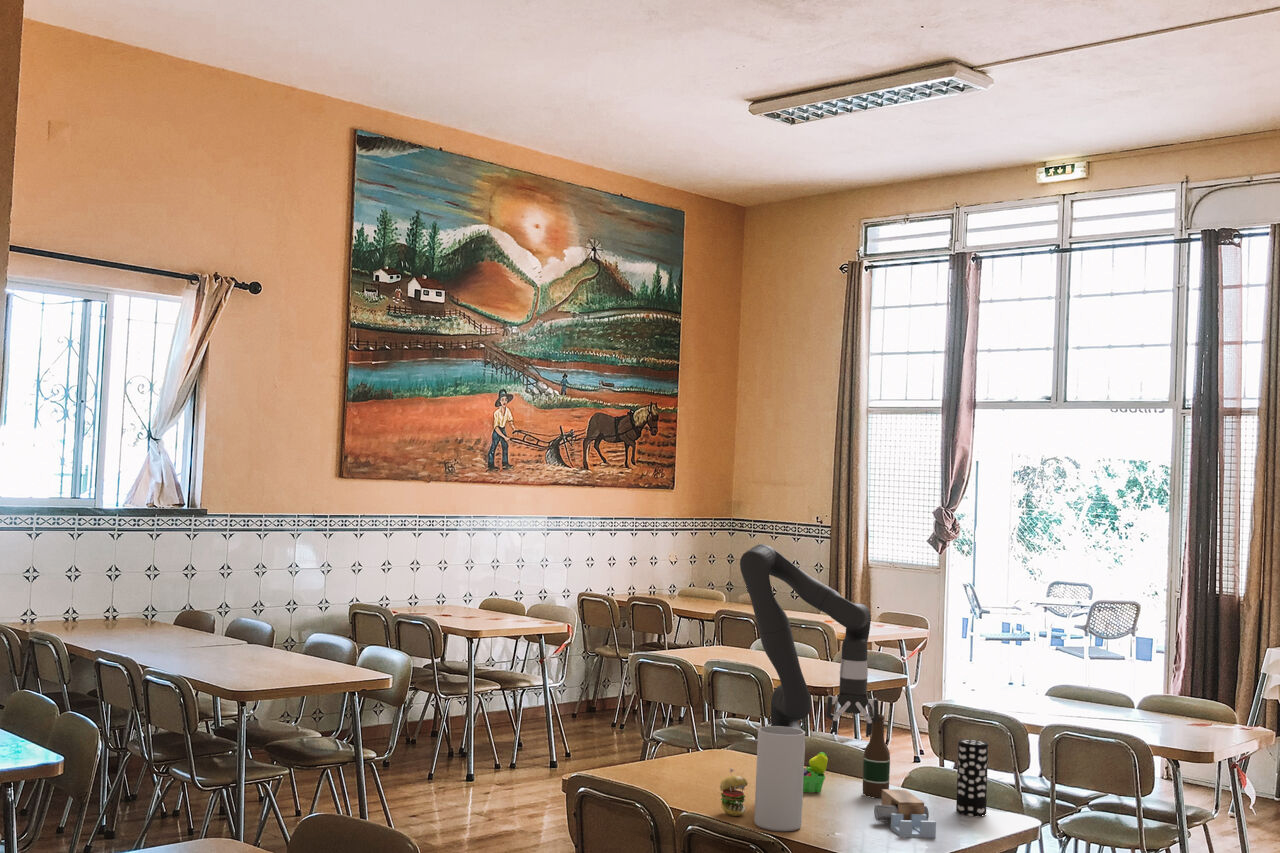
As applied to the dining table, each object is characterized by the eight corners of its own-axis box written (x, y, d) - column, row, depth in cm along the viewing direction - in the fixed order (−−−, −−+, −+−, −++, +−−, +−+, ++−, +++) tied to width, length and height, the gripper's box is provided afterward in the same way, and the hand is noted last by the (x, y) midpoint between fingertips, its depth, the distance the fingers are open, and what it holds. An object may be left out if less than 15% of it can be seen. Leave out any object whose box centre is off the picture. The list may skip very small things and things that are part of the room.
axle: (878, 822, 313) (879, 807, 313) (873, 818, 317) (874, 803, 317) (928, 823, 314) (928, 808, 315) (923, 819, 318) (923, 804, 319)
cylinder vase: (809, 831, 303) (812, 735, 305) (765, 833, 300) (769, 735, 302) (789, 819, 315) (793, 726, 317) (747, 820, 312) (751, 726, 314)
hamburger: (729, 818, 312) (731, 773, 313) (713, 812, 318) (715, 767, 319) (751, 816, 316) (753, 771, 317) (735, 809, 322) (737, 765, 323)
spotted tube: (986, 811, 335) (988, 741, 337) (985, 818, 327) (987, 746, 329) (957, 807, 338) (959, 738, 339) (955, 814, 330) (957, 743, 332)
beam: (898, 827, 312) (899, 802, 312) (881, 813, 326) (881, 789, 326) (923, 828, 312) (924, 802, 313) (904, 814, 327) (905, 789, 327)
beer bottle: (888, 799, 343) (891, 718, 345) (862, 797, 345) (865, 715, 346) (888, 793, 351) (891, 713, 352) (862, 791, 352) (865, 711, 354)
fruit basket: (795, 784, 357) (796, 747, 358) (824, 786, 357) (825, 749, 358) (799, 793, 346) (801, 754, 347) (829, 795, 346) (830, 756, 346)
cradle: (900, 836, 303) (901, 821, 303) (890, 828, 310) (891, 813, 311) (935, 837, 304) (936, 822, 304) (924, 829, 312) (925, 814, 312)
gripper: (828, 676, 317) (825, 736, 316) (880, 679, 315) (878, 740, 314) (827, 672, 325) (825, 731, 324) (878, 676, 323) (876, 734, 322)
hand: (851, 735), depth 319 cm, fingers open, 8 cm apart
